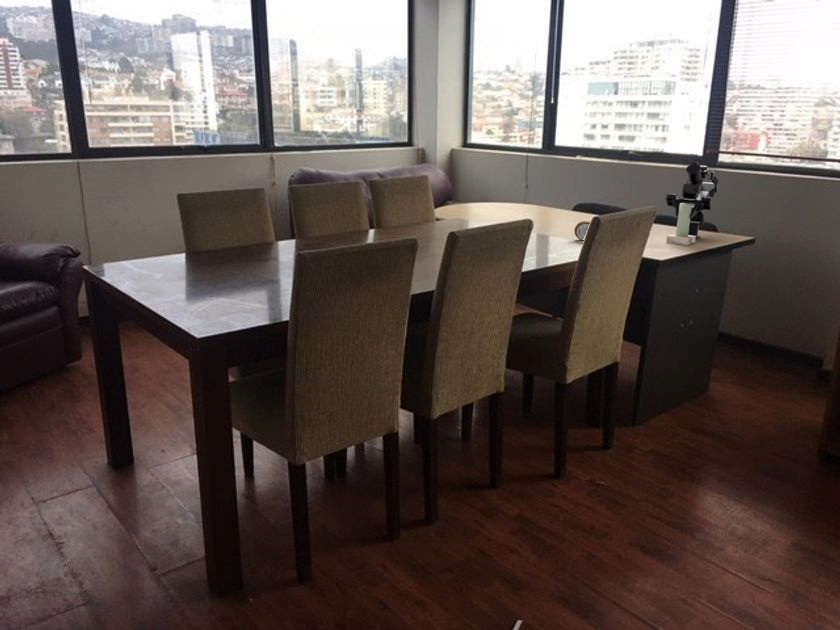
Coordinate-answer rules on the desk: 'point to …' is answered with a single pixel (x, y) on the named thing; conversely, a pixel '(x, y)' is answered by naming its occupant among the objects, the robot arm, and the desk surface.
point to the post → (683, 219)
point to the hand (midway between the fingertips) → (683, 216)
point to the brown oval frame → (581, 229)
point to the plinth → (680, 239)
